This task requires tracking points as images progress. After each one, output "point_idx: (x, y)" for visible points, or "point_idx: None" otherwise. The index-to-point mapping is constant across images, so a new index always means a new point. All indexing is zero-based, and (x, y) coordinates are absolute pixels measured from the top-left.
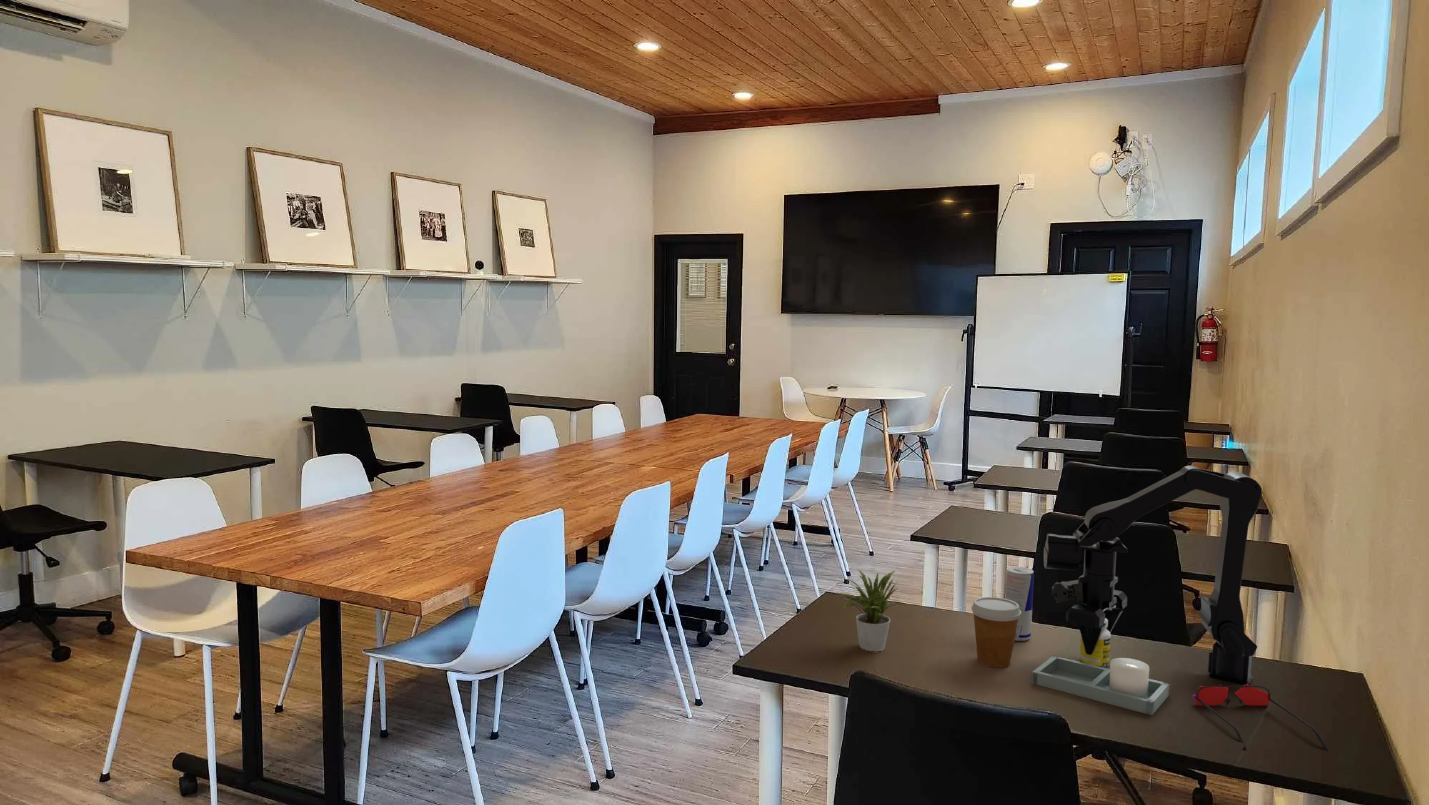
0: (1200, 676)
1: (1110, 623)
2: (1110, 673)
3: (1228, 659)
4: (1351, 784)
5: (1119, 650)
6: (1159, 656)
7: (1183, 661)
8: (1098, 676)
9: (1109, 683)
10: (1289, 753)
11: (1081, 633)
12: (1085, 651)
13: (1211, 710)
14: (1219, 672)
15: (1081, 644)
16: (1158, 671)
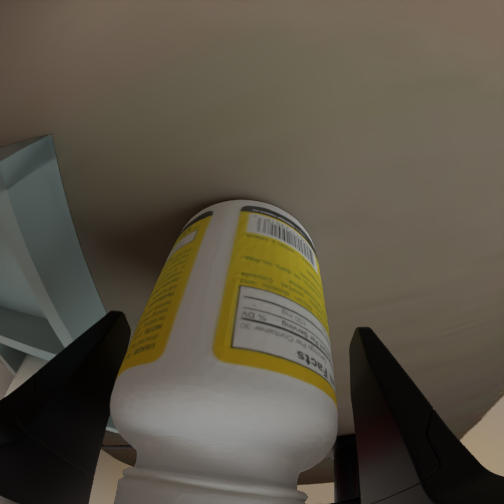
0: (352, 428)
1: (367, 489)
2: (11, 384)
3: (335, 488)
4: (120, 459)
5: (496, 286)
6: (464, 366)
7: (439, 397)
8: (22, 344)
9: (25, 361)
10: (131, 452)
11: (9, 398)
12: (103, 317)
13: (124, 446)
14: (342, 456)
15: (161, 295)
16: (341, 393)
